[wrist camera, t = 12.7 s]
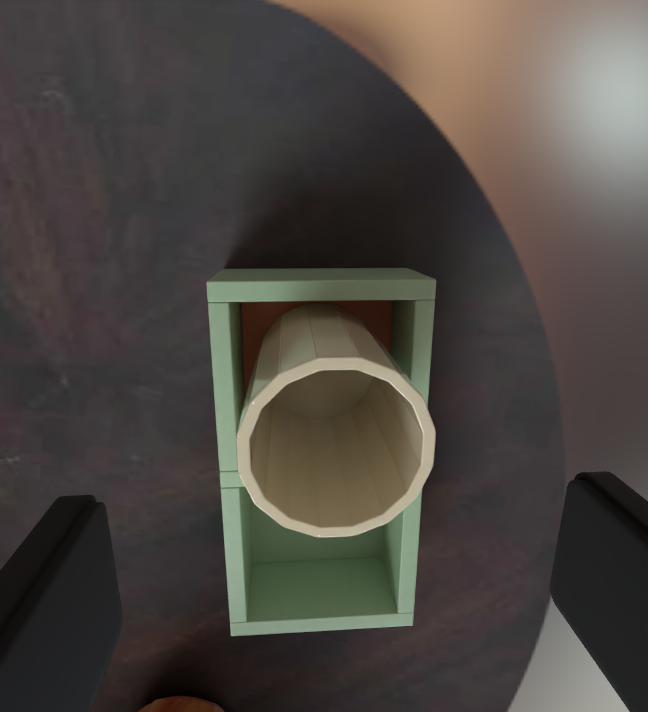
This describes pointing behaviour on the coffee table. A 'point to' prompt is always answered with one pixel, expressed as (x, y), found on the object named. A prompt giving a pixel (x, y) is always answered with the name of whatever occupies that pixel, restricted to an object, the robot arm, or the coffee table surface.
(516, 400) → the coffee table surface
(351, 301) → the cup holder
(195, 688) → the coffee table surface
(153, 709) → the mug
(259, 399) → the paper cup
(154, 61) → the coffee table surface
